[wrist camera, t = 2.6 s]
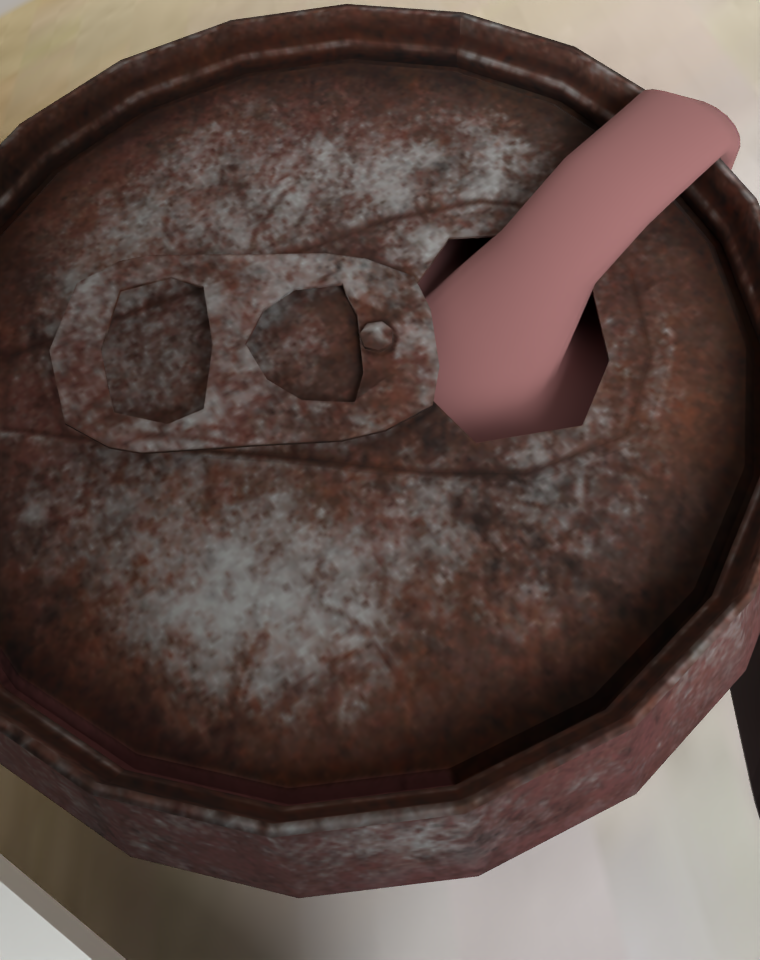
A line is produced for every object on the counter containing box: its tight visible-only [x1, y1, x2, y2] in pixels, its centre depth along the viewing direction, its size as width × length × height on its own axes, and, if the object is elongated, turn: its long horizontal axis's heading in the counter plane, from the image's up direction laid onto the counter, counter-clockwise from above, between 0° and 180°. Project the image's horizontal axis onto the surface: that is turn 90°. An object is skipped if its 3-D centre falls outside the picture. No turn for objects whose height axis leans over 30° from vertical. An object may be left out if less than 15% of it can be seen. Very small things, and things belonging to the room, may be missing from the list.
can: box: [0, 4, 760, 898], centre depth 10 cm, size 6×6×14 cm
